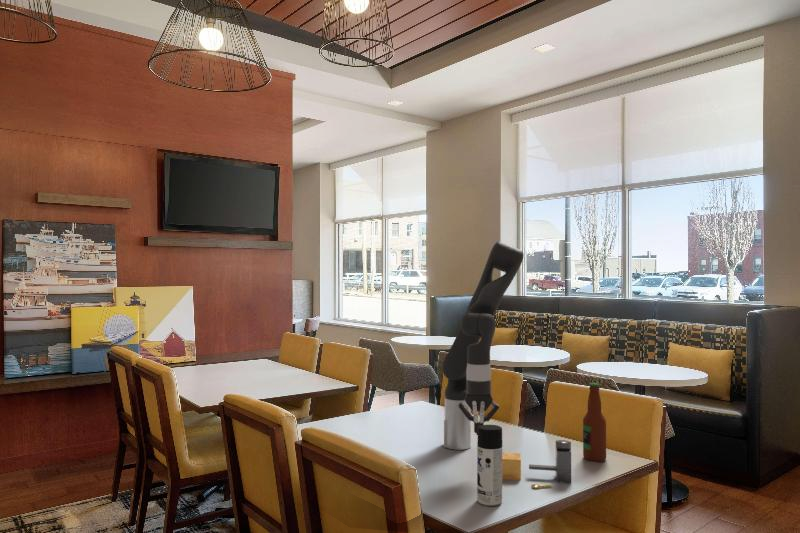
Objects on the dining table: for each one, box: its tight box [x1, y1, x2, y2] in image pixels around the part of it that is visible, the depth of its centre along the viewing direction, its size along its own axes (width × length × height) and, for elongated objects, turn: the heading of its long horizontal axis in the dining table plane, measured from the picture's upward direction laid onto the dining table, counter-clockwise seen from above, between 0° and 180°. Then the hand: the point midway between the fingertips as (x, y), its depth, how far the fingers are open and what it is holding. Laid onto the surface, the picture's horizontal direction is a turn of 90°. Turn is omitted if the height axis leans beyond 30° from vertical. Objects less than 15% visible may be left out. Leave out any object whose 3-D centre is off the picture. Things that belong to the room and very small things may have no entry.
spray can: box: [476, 424, 503, 507], centre depth 155 cm, size 7×7×20 cm
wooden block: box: [502, 452, 522, 481], centre depth 176 cm, size 7×6×6 cm
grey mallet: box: [528, 439, 572, 484], centre depth 173 cm, size 12×6×11 cm, turn 79°
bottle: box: [582, 382, 607, 463], centre depth 192 cm, size 7×7×25 cm
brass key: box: [531, 483, 553, 490], centre depth 166 cm, size 6×2×1 cm, turn 99°
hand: (479, 434), depth 178 cm, fingers closed
